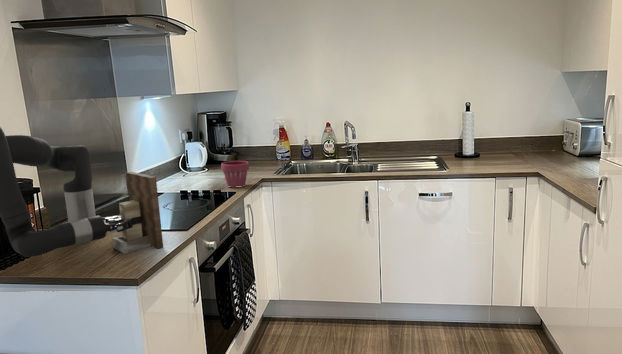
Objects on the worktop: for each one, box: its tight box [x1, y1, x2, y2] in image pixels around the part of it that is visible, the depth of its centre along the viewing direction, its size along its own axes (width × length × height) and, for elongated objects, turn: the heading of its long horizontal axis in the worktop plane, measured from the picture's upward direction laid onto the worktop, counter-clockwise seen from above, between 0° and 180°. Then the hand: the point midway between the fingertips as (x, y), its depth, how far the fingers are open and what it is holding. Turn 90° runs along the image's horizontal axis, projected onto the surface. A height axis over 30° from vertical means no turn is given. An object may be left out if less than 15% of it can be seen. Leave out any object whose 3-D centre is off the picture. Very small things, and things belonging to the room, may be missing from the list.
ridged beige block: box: [118, 200, 143, 241], centre depth 160 cm, size 4×6×14 cm
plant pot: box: [220, 160, 250, 187], centre depth 251 cm, size 14×14×13 cm
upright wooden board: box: [112, 171, 164, 255], centre depth 159 cm, size 18×11×24 cm, turn 45°
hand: (138, 218), depth 161 cm, fingers closed on ridged beige block, 4 cm apart
